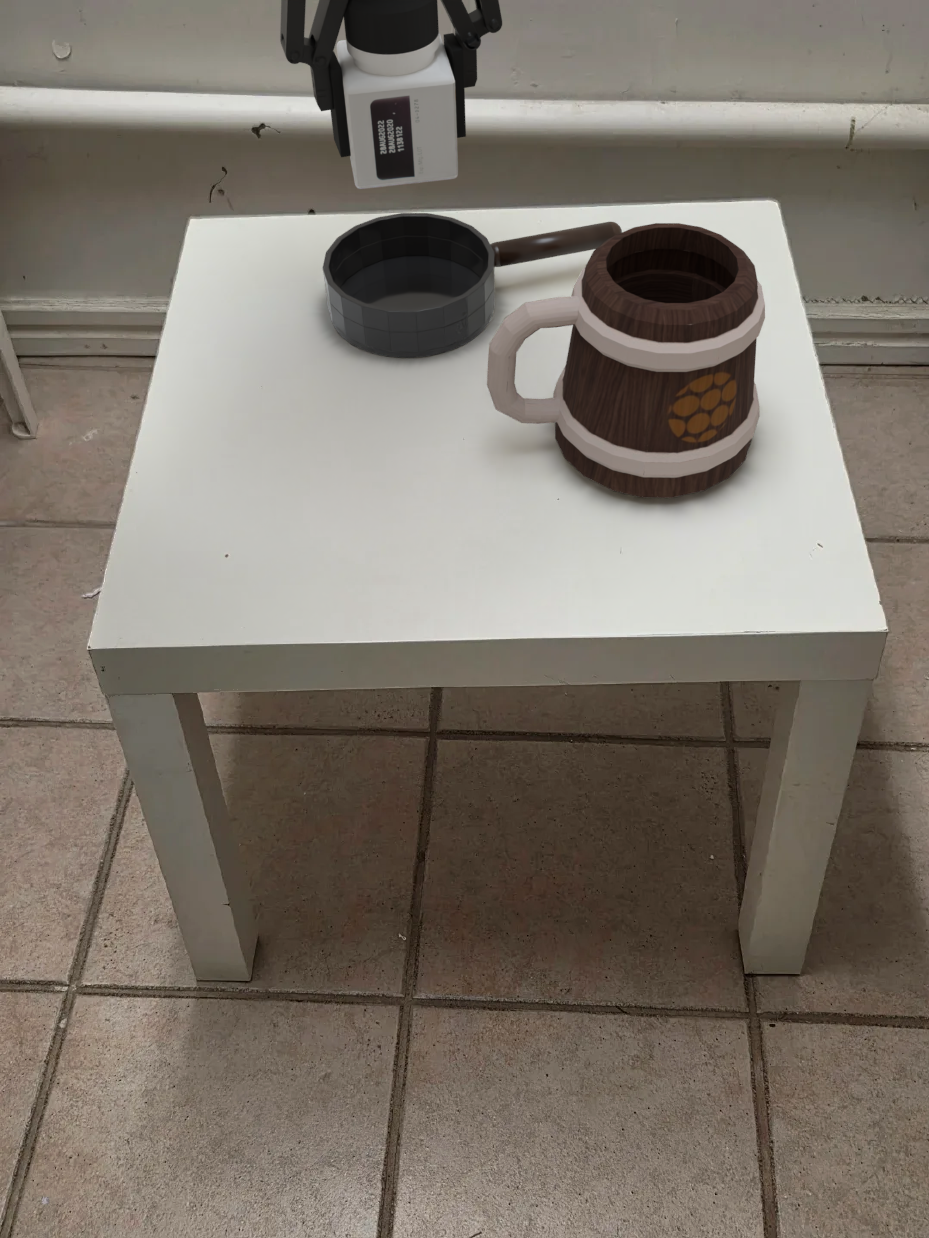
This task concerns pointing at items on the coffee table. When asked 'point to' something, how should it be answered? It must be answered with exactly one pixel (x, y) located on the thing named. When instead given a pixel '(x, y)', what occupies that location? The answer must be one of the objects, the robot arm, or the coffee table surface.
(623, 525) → the coffee table surface
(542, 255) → the pan handle
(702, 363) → the mug
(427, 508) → the coffee table surface
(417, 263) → the pan
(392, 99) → the container
